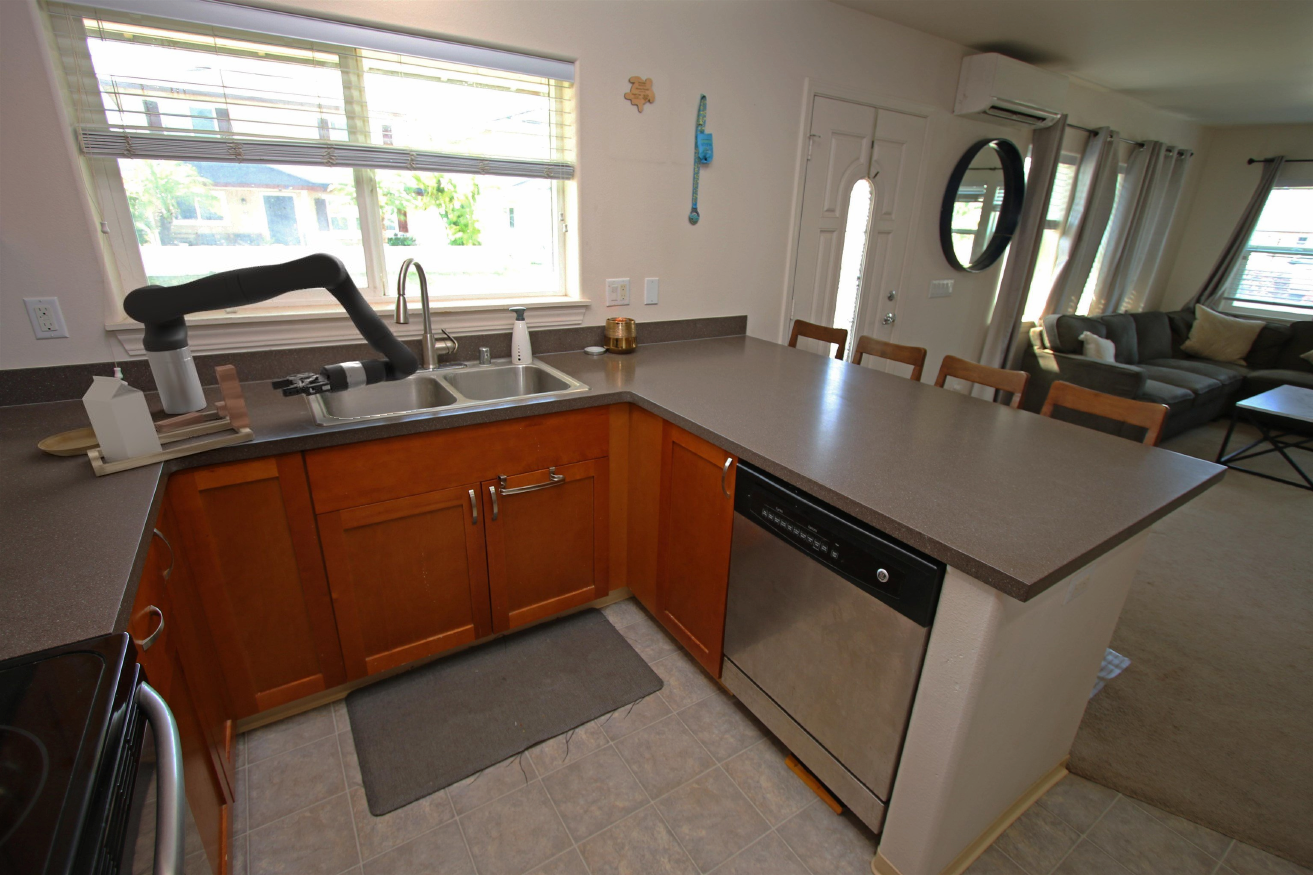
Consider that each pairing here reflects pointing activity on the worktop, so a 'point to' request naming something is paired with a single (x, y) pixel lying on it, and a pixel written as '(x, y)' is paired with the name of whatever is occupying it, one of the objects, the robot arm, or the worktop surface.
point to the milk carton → (120, 419)
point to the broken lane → (192, 420)
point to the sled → (193, 430)
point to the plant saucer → (71, 442)
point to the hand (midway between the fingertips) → (277, 389)
